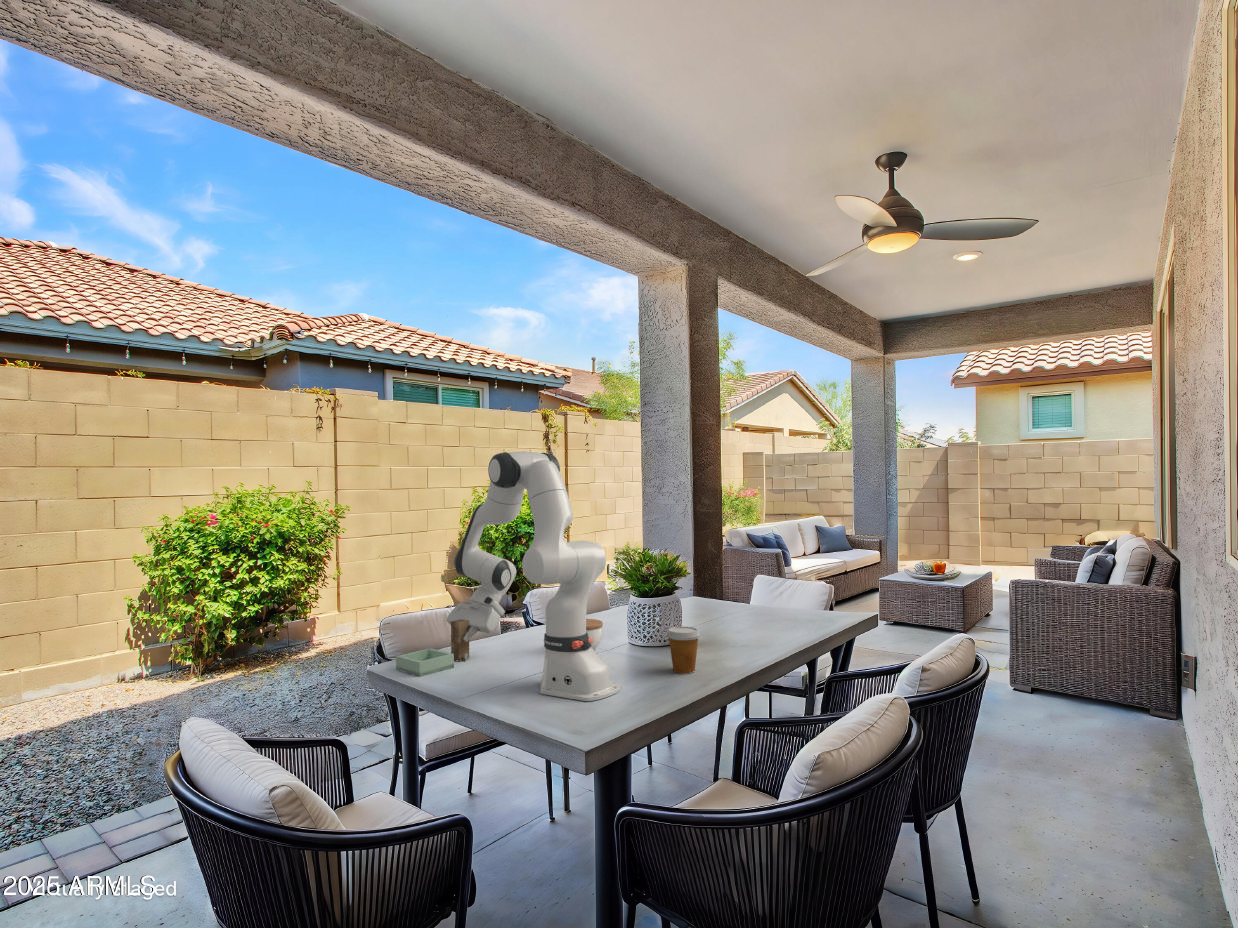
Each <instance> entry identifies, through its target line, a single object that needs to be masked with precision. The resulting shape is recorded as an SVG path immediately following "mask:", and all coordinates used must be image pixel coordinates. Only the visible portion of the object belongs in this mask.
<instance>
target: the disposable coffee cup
mask: <svg viewBox="0 0 1238 928" xmlns="http://www.w3.org/2000/svg"><path fill="white" fill-rule="evenodd" d="M666 635H667V636H668V641H669V649H670V655H671V663H672V671H673V672H674V671H675V672H674V673H676V672H677V673H676V674H680V673H689V674H691V673H690V672H693V671H696V661H697V654H698V645H699V644H698V643H699V638H700V635H701V634H700V631H699V629H698V628H696V627H692V626H673V627H670V628H669V629H668V632H667V634H666ZM693 673H694V672H693Z"/></svg>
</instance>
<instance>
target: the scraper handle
mask: <svg viewBox="0 0 1238 928" xmlns="http://www.w3.org/2000/svg"><path fill="white" fill-rule="evenodd" d="M468 623H469V621H467V620H462V619H460V620H456V621H451V625H450V646H451V647H450V653H452V654H454V660H458V661H460V660H467V661H468V660H469V659H470V639H469V640H468V642H465V641H463V640H462V636H463V635H464V634H466V633H467V632H468V631H470V630H469V625H468ZM468 658H469V659H468ZM458 661H457V662H458ZM460 662H461V661H460Z"/></svg>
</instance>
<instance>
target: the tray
mask: <svg viewBox="0 0 1238 928" xmlns="http://www.w3.org/2000/svg"><path fill="white" fill-rule="evenodd" d="M451 667H453V668H455V661H454V654H452V653H451V652H449V651H448V652H447V651H443V650H439V649H435V648H431V647H429V648H426V649H421V650H418V651H413V652H409V653H405V654H399V655H396V656H395V670H397V671H400V672H402V671H403V672H402V673H406V674H410V675H412V674H413V676H417V677H424V676H427V675H430V674H436V673H438V672H437V671H439V672H441V671H440V670H442V671H444V670H443V669H446V670H449V669H448V668H450V669H452V668H451Z"/></svg>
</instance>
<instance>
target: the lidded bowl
mask: <svg viewBox="0 0 1238 928" xmlns="http://www.w3.org/2000/svg"><path fill="white" fill-rule="evenodd" d="M603 625H604V623H603V621H602V620H599V619H597V618H596V619H595V618H586V632H587V633H588V636H589V638H593V637H594V639H592V640H591V641H594V642H591V648H592V649H593V650H594V651H596V648H597V647H598V646H600V645H599V644H601V640H602V637H603Z"/></svg>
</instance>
